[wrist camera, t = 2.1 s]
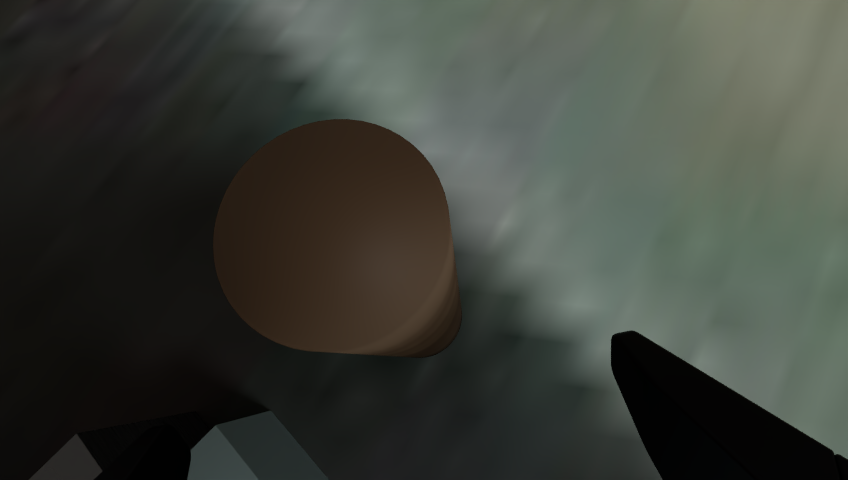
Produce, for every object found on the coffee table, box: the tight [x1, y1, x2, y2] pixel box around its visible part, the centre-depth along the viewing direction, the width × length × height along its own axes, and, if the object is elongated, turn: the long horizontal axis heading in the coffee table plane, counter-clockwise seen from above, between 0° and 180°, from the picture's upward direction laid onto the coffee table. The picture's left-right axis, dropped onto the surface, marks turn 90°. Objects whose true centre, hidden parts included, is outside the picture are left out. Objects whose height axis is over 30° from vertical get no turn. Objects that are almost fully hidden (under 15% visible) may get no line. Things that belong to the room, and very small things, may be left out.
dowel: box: [213, 119, 462, 358], centre depth 13 cm, size 4×4×13 cm
